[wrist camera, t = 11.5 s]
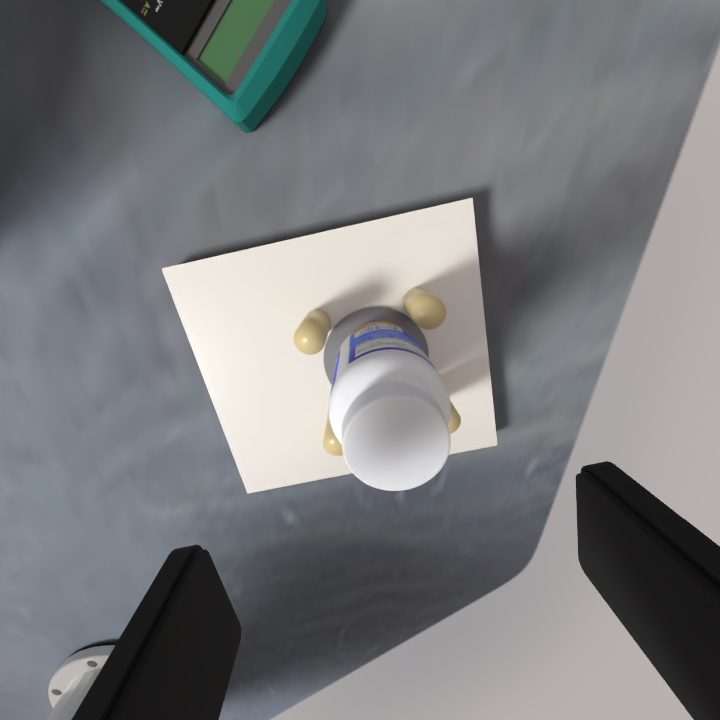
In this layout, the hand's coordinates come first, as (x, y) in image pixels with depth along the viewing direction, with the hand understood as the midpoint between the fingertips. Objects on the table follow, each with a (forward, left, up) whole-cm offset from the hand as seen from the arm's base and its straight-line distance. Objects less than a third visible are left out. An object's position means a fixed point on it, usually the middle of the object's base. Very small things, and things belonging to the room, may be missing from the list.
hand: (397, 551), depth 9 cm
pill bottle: (0, -1, -14) cm, 14 cm away
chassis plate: (0, +2, -16) cm, 16 cm away
